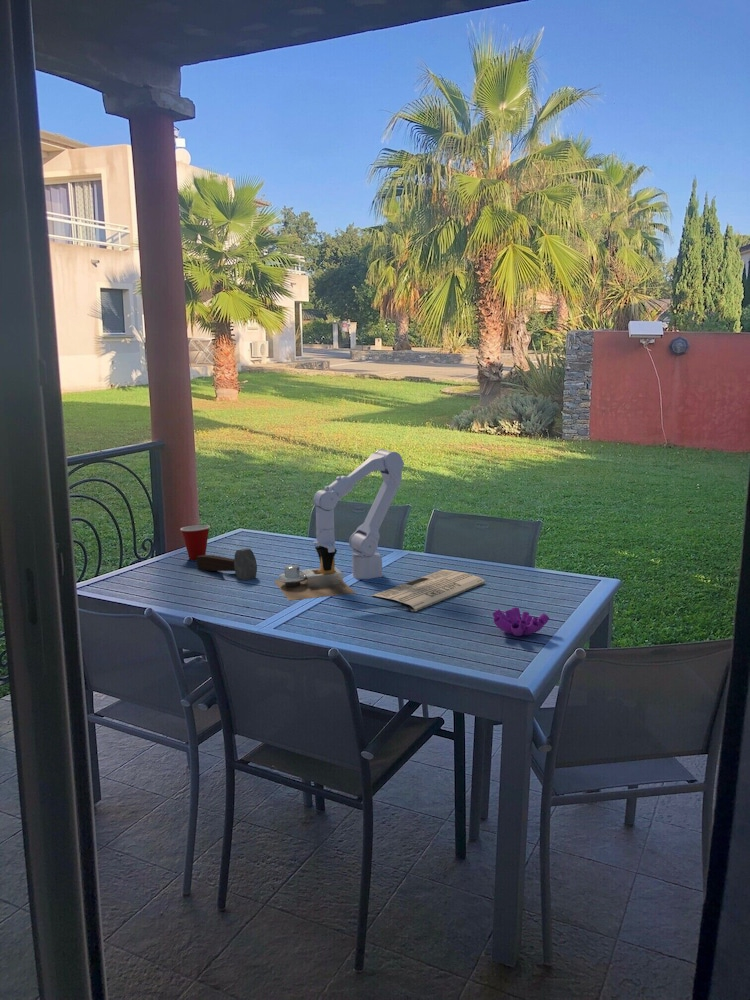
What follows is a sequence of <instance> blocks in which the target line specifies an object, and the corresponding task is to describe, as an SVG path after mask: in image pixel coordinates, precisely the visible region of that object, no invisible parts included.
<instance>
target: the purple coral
mask: <svg viewBox="0 0 750 1000" xmlns="http://www.w3.org/2000/svg"><path fill="white" fill-rule="evenodd" d="M492 616H493V617H494V618H493V623H494V624H495V626H496V627H497V628H498V629H499V630H501V631H503V632H505V633H508V634H512V635H514V636H517V637H520V636H527V635H531V634H534V633H536V632H539V631H541V630H542V629H543V627H544V626H545V625H546V624H547V623H548V622H549V620H550V616H548V615H547V614H546V613H544V612H543V613H542V614H541V615H540V616H538V617H536V616H534V617H533V616H532V615H530V613H529V612H528V611H522V614H521V611H520V608H519V607H511V609H507V610H505V613H504V612H502V610H501V609H500V608H499V609H497V610H494V612H492Z"/></svg>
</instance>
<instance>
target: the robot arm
mask: <svg viewBox="0 0 750 1000" xmlns="http://www.w3.org/2000/svg"><path fill="white" fill-rule="evenodd" d="M404 465H405V462H404V460H403V457H402V455H401V454H400V453H399V452H397V451H391V450H386V449H383V448H379V449H377V450H376V451H375V452H373V453H371V454H370V455H369V457H368V458H367V459H366V460H365V461H363V462H362V463H361V464H360V465H359V466H357V467H356V468H355V469H354V470H352V471H351V472H350V473H349V474H348V475H341V476H336V478H335V480H334V481H333V482H331V483H330V484H329V485H325V486H324V489H320V490H317V491H316V492H315V493H314V495H313V498H312V499H311V500H312V503H313V505H314V506H315V526H316V527H315V529H316V531H315V532H316V541H315V540H314V541H313V542H312V544H313V546H314V548H315V551H316V552H317V555H318V559H319V563H320V565H321V558H322V562H323V568H324V571H328V570H331V567H332V562H333V558H335V556H336V553H337V551H338V550H337V549H336V547H335V545H336V540H335V508H336V506H337V505H338V501H340V500H342V499H343V498H344V497H345V496H347V494H349V493H351V491H353V490H354V487H355V486H354V485H355V484H356V483H358V482H360V481H361V480H362V479H364V478H365V477H367V476H368V475H370V474H371V473H372V472H380V475H381V477H382V480H383V481H382V484H381V485H380V487H379V490H378V492H377V494H376V496H375V499H374V500H373V503H372V505H371V507H370V509H369V510H368V513H367V514H366V515H367V516H366V517H365V519H364V521H363V523H362V524H361V525H358V526H357V528H356V530H355V531H354V532H353V533H352V534H351V536H350V537H349V540H348V545H349V547H350V548H351V549H352V578H354V579H357V580H369V579H370V580H371V579H374V578H375V579H376V578H382V577H383V559H382V555H381V553H379V552H377V551H378V547H379V546H378V545H379V540H380V538H381V536H380V531H379V530H380V527H381V526H382V523H383V521H384V520H385V517H386V515H387V514H388V511H389V509H390V507H391V504H392V502H393V500H394V498H395V496H396V494H397V492H398V490H399V487H400V486H401V484H402V473H403V467H404Z"/></svg>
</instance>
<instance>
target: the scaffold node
mask: <svg viewBox="0 0 750 1000" xmlns="http://www.w3.org/2000/svg"><path fill="white" fill-rule="evenodd" d="M300 568H301V567H300V565H298V564H290V565H285V566H284V569H283V570H284V573H281V574H280V575H278V580H279V581H280V582H284V583H285V586H286V587H298V586H300V582H302V581H303V582H304V584H305V585H306V586H307V587H316V586H325V585H335V584H343V581H344V578H343V572H342V571H341V570H340V569H339V568H338V567H336V566H335V571H334V573H325V574H320V568H312V569H311V568H310V569H309V568H307V569H300ZM300 570H301V571H300Z"/></svg>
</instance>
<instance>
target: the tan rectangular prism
mask: <svg viewBox="0 0 750 1000" xmlns="http://www.w3.org/2000/svg"><path fill="white" fill-rule="evenodd" d="M335 563H336V560H335V557H334V558H333V562H332V567H331V570H328V571H324V568H323V562H322V558H321V564H320V574H325V573H334V571H335V567H336V566H335Z"/></svg>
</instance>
